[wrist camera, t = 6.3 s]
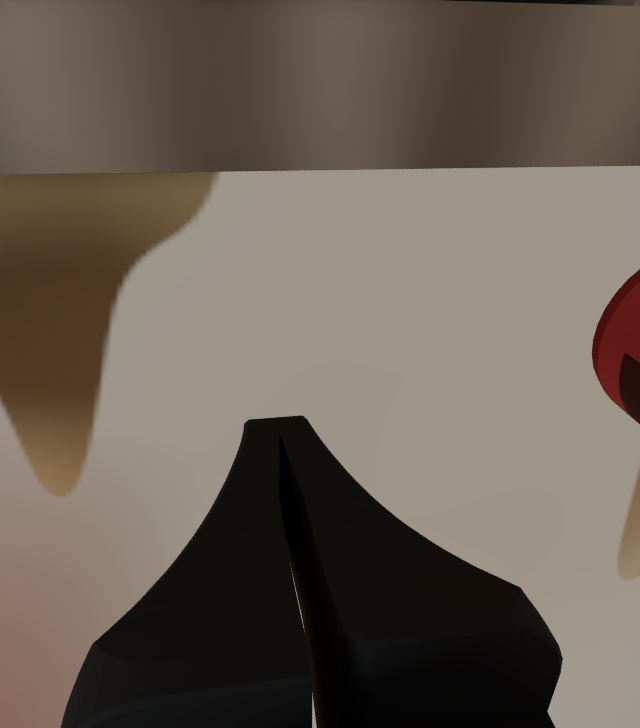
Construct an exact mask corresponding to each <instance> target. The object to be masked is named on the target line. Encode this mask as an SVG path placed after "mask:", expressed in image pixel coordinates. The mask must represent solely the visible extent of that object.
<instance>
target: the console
mask: <svg viewBox="0 0 640 728" xmlns="http://www.w3.org/2000/svg"><path fill="white" fill-rule="evenodd" d="M636 165H637V166H639V165H640V0H578V1H573V2H568V3H563V4H543V3H510V2H476V1H443V0H0V175H6V174H77V173H147V172H218V171H279V170H280V171H288V170H356V169H424V168H425V169H426V168H427V169H428V168H492V167H493V168H498V167H566V166H567V167H570V166H636Z"/></svg>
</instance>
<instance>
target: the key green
mask: <svg viewBox="0 0 640 728" xmlns="http://www.w3.org/2000/svg"><path fill="white" fill-rule="evenodd" d="M443 1H476V2H510V3H543V4H563V3H568V2H573V1H578V0H443Z"/></svg>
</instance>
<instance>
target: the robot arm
mask: <svg viewBox="0 0 640 728" xmlns="http://www.w3.org/2000/svg"><path fill="white" fill-rule="evenodd" d="M291 569H292V571H291ZM292 573H293V576H292ZM293 578H294V581H293ZM294 582H295V586H294ZM295 587H296V591H297V596H298V600H299V605H300V609H301V613H302V619H303V623H302V619H301V614H300V610H299V605H298V600H297V596H296V592H295ZM303 624H304V628H303ZM304 630H305V632H304ZM562 660H563V658H562V655H561V651H560V648H559V645H558V644H557V642H556V640H555V638H554V637H553V635H552V633H551V631H550V630H549V628H548V626H547V625H546V623H545V621H544V620H543V619H542V617H541V615H540V614H539V612H538V611H537V610H536V608H535V607H534V606H533V604H532V603H531V602H530V601H529V599H528V598H527V596H526V595H525V594H524V592H523V591H522V589H521V588H520V587H518V586H516V585H514V584H511V583H509V582H507V581H505V580H503V579H501V578H498V577H497V576H494V575H492V574H490V573H488V572H486V571H484V570H481V569H479V568H477V567H475V566H473V565H471V564H469V563H467V562H466V561H464V560H462V559H460V558H458V557H457V556H455V555H453V554H451V553H449V552H447V551H446V550H444V549H442V548H441V547H439V546H438V545H436V544H434V543H433V542H431V541H429V540H428V539H427V538H425V537H423V536H422V535H421V534H419V533H417V532H416V531H415V530H413V529H412V528H410V527H409V526H407V525H406V524H404V523H403V522H402V521H401V520H399V519H398V518H397V517H395V516H394V515H393V514H392V513H391V512H389V511H388V510H387V509H385V508H384V507H383V506H382V505H381V504H380V503H379V502H378V501H376V500H375V499H374V498H373V497H372V496H371V495H370V494H369V493H368V492H367V491H366V490H365V489H364V488H363V487H362V486H361V485H359V483H358V482H357V481H356V480H355V479H354V478H353V477H352V476H351V475H350V474H349V473H348V472H347V471H346V470H345V468H344V467H343V466H342V465H341V464H340V463H339V461H338V460H337V459H336V458H335V457H334V456H333V454H332V453H331V452H330V451H329V450H328V448H327V447H326V446H325V444H324V443H323V442H322V440H321V439H320V438H319V436H318V435H317V434H316V432H315V431H314V429H313V428H312V426H311V425H310V423H309V422H308V420H307V419H306V418H305V417H304V416H290V417H277V418H264V419H251V420H248V421H247V422H246V423H245V424H244V431H243V435H242V440H241V443H240V446H239V449H238V452H237V455H236V458H235V460H234V462H233V465H232V467H231V470H230V472H229V474H228V477H227V479H226V481H225V483H224V485H223V487H222V489H221V491H220V492H219V494H218V496H217V498H216V500H215V502H214V504H213V506H212V507H211V509H210V511H209V513H208V514H207V516H206V517H205V519H204V521H203V522H202V524H201V525H200V527H199V528H198V530H197V531H196V533H195V534H194V536H193V537H192V539H191V540H190V541H189V543H188V544H187V545H186V547H185V548H184V549H183V551H182V552H181V554H180V555H179V556H178V557H177V559H176V560H175V561H174V562H173V564H172V565H171V566H170V567H169V568H168V570H167V571H166V572H165V573H164V574H163V575H162V576H161V577H160V579H159V580H158V581H157V582H156V583H155V584H154V585H153V586H152V587H151V588H150V590H149V591H148V592H147V593H146V594H145V595H144V596H143V597H142V598H141V600H139V601H138V602H137V604H135V605H134V607H132V608H131V610H129V611H128V612H127V613H126V614H125V615H124V616H123V617H122V618H121V619H120V620H118V621H117V622H116V623H115V624H114V625H113V626H112V627H111V628H110V629H109V630H108V631H107V632H106V633H104V634H103V635H102V636H101V637H100V638H99V639H98V640H97V641H95V642H94V643H93V644H92V646H91V648H90V650H89V652H88V654H87V657H86V659H85V661H84V663H83V665H82V668H81V670H80V672H79V674H78V677H77V679H76V682H75V685H74V687H73V690H72V692H71V695H70V698H69V701H68V703H67V706H66V710H65V713H64V717H63V721H62V725H61V728H312V692H313V700H314V709H315V717H316V725H317V728H555V726H554V724H553V722H552V720H551V718H550V716H549V714H548V712H547V711H548V708H549V705H550V702H551V699H552V696H553V693H554V690H555V687H556V684H557V682H558V679H559V676H560V673H561V666H562Z"/></svg>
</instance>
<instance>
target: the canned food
mask: <svg viewBox="0 0 640 728" xmlns="http://www.w3.org/2000/svg"><path fill="white" fill-rule="evenodd" d="M592 359H593V367H594V370H595V372H596V375H597V377H598V379H599V381H600V384H601V385H602V387H603V390H604V391H605V392H606V394H607V395H608V396H609V397H610V399H611V400H612V401H613V402H615V403H616V404H617V405H618V406H619V407H620V408H621V409H623V410H624V411H625V412H626V413H627V414H628V415H630V416H631V417H632V418H633V419H634V420H635V421H637V422H638V423H639V424H640V270H638V271H637V272H636V273H635V274H634V275H633V276H631V277H630V278H629V279H628V280H627V281H626V282H625V283H624V284H623V286H622V287H621V288H620V289H619V290H618V291H617V292H616V294H615V295H614V297H613V298H612V299H611V301H610V303H609V304H608V305H607V307H606V308H605V310H604V312H603V314H602V317H601V319H600V321H599V323H598V325H597V329H596V332H595V336H594V339H593V348H592Z"/></svg>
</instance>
